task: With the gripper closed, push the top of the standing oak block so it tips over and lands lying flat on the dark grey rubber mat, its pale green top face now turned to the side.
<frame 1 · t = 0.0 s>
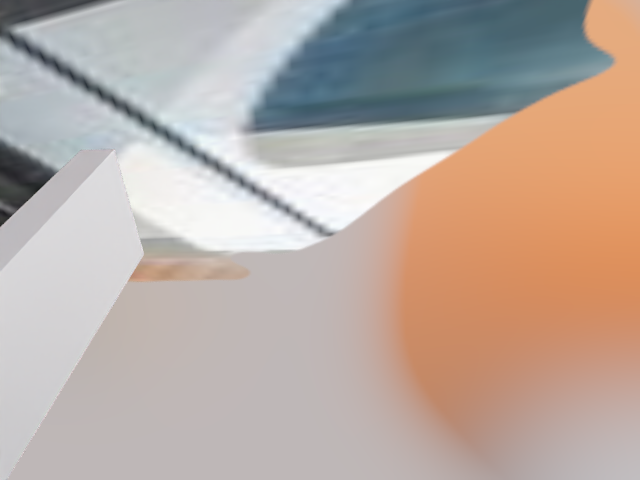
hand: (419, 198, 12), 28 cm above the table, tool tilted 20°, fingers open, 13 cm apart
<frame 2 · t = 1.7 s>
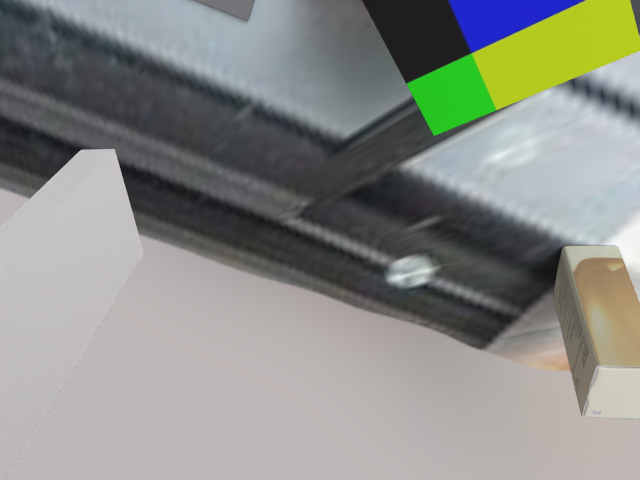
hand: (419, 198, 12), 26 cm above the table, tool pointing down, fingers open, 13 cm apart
skincare box: (583, 268, 48), on the table
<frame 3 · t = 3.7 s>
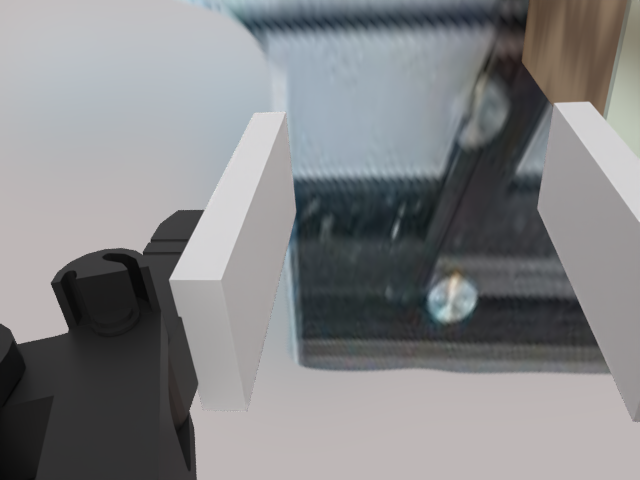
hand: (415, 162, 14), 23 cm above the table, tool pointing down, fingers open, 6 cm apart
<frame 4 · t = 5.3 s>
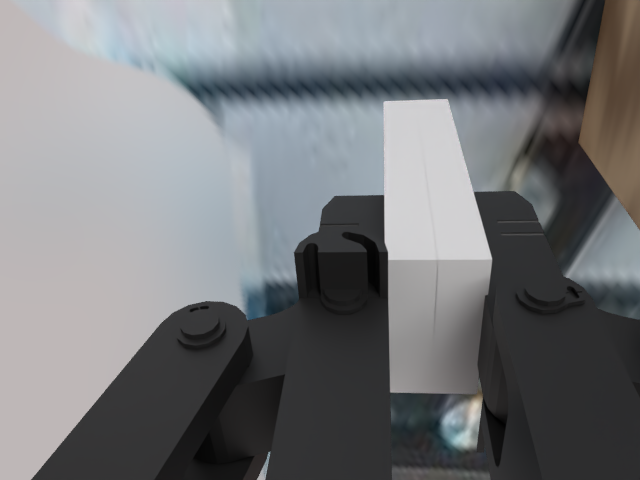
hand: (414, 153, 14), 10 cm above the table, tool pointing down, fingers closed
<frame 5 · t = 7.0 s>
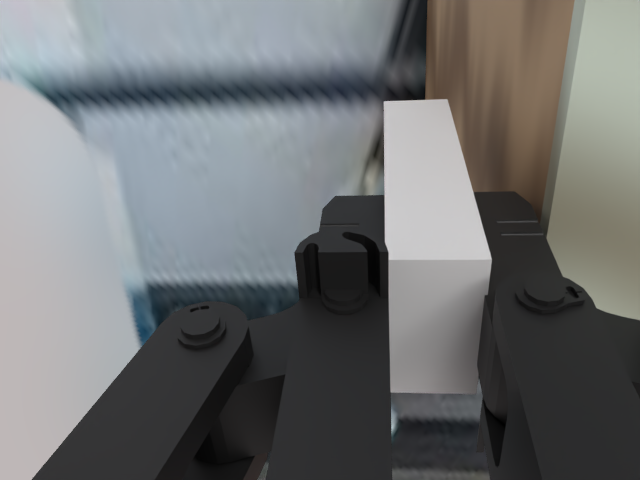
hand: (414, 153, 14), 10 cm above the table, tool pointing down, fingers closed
block: (491, 38, 22), on the table
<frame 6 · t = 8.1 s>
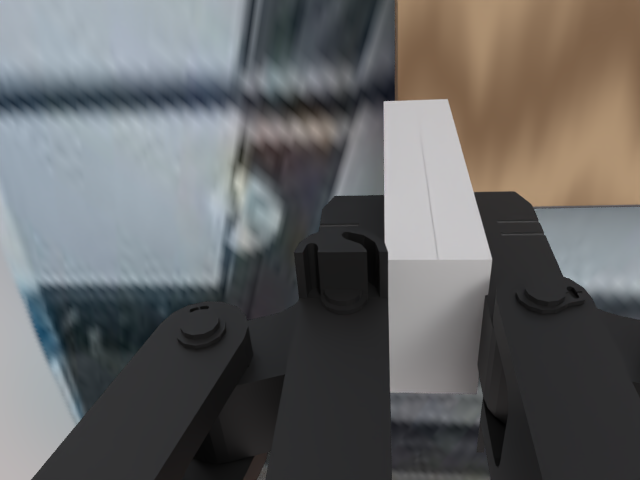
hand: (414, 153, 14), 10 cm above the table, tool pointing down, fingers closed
block: (396, 64, 21), point 3 cm above the table, tilted 90°, touching mat
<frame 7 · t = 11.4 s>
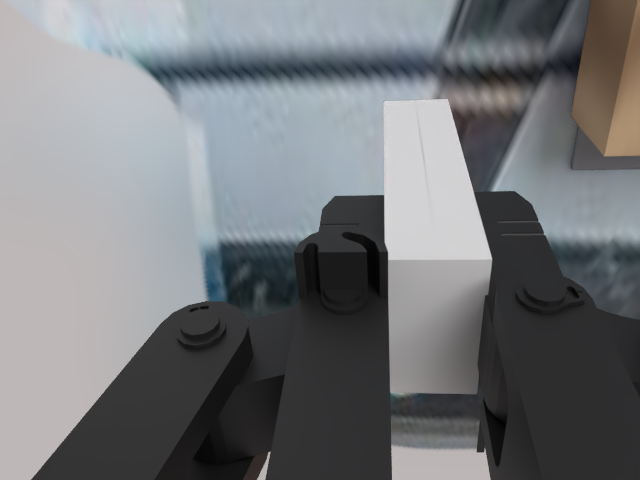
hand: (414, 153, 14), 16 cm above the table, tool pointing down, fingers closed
block: (605, 35, 25), point 3 cm above the table, tilted 90°, touching mat
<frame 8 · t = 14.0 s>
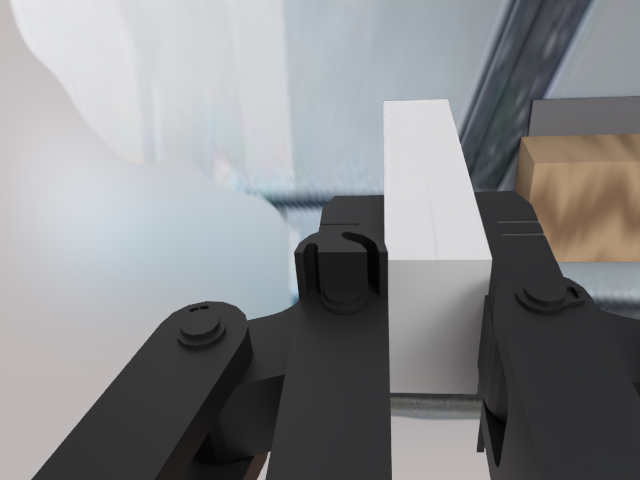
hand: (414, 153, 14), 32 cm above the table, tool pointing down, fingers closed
block: (520, 199, 47), point 3 cm above the table, tilted 90°, touching mat
mat: (618, 182, 49), on the table
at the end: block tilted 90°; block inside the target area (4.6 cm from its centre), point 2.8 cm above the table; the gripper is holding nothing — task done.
